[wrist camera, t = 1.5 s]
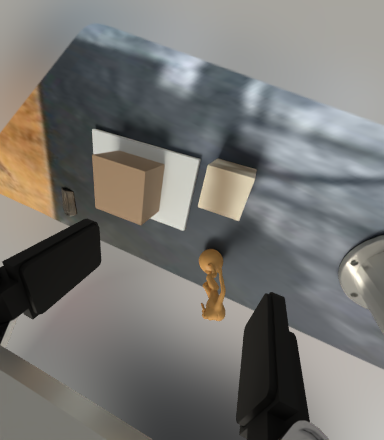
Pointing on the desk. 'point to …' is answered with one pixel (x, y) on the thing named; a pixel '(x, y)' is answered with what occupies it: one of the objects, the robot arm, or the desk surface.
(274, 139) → the desk surface
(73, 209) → the block
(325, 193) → the desk surface
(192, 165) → the build board
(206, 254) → the figurine
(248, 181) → the maple block
